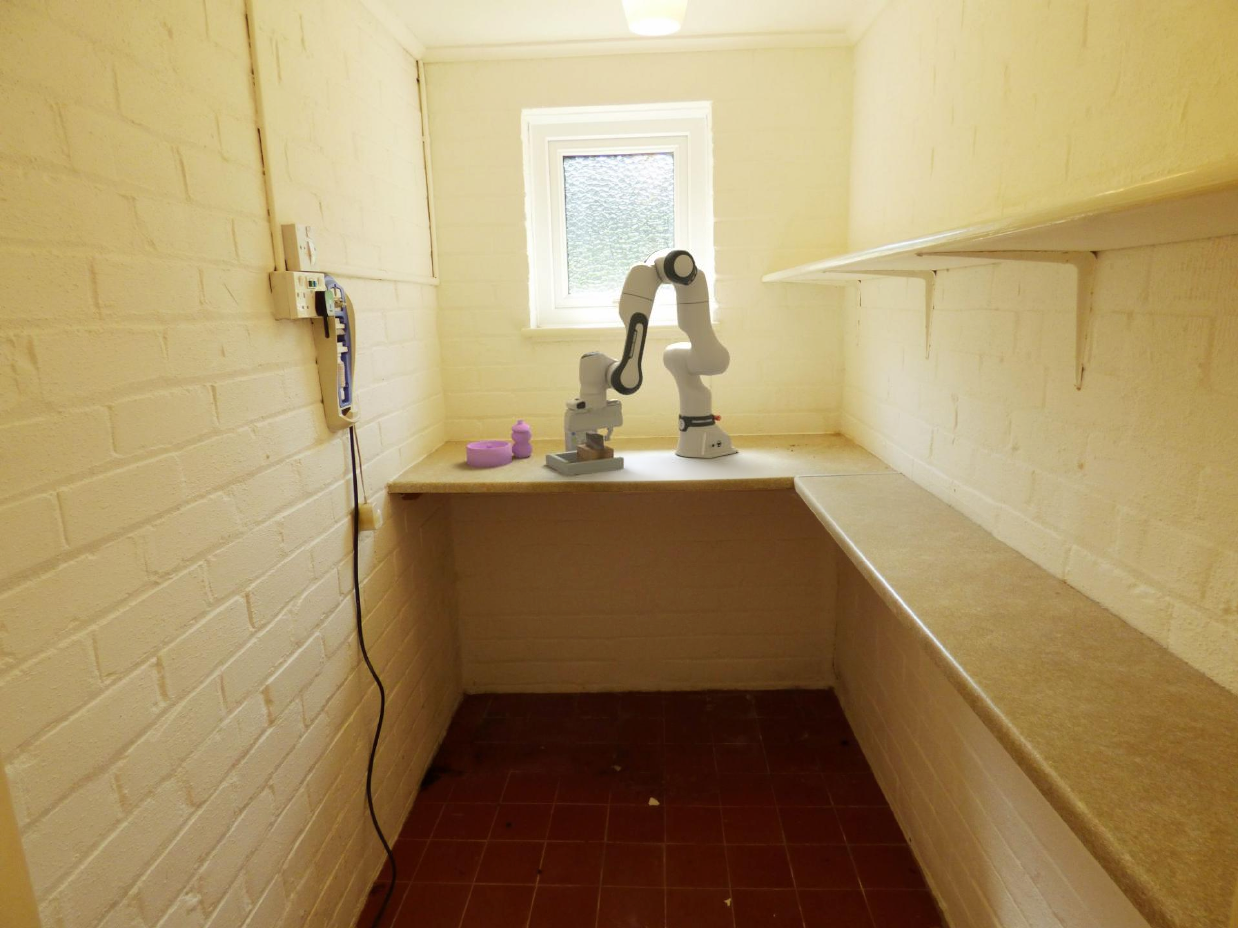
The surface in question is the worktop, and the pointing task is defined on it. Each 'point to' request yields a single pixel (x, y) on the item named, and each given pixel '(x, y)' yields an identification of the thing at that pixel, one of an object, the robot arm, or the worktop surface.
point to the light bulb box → (574, 439)
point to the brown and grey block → (594, 448)
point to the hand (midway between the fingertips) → (594, 442)
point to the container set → (500, 448)
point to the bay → (581, 463)
